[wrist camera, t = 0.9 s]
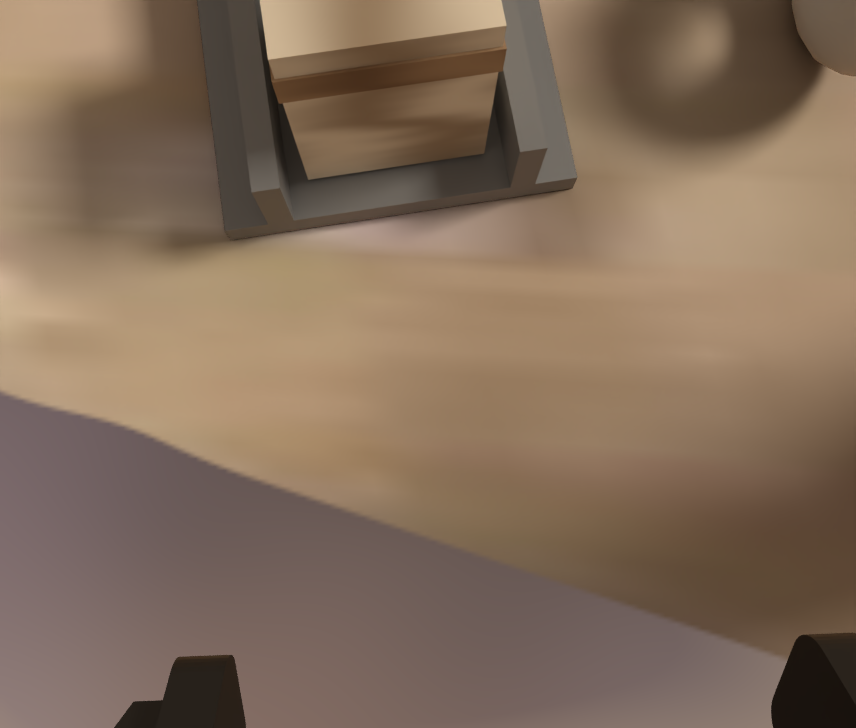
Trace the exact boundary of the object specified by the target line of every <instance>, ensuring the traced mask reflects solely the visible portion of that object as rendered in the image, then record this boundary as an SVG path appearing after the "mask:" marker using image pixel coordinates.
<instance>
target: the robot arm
mask: <svg viewBox="0 0 856 728" xmlns="http://www.w3.org/2000/svg"><path fill="white" fill-rule="evenodd" d="M771 714H772V724H773V728H856V633H836V634H811V635H801V636H799V637H798V638H797V639H796V641H795V643H794V646H793V648H792V651H791V653H790V656H789V658H788V661H787V663H786V666H785V669H784V671H783V674H782V676H781V679H780V682H779V684H778V686H777V689H776V692H775V694H774V697H773V700H772V706H771ZM114 728H246V724H245V717H244V710H243V705H242V699H241V693H240V687H239V682H238V676H237V670H236V664H235V660H234V657H233V656H232V655H217V656H216V655H215V656H190V657H178V658H177V659H176V660H175V662H174V664H173V666H172V669H171V673H170V676H169V680H168V683H167V687H166V691H165V694H164V698H163V700H161V701H137V702H133V703H132V705H131V706H130V707H129V709H128V710H127V711H126V713H125V714H124V715H123V717H122V718H121V719H120V721H119V722H118V723H117V725H116V726H115V727H114Z"/></svg>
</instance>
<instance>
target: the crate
mask: <svg viewBox="0 0 856 728" xmlns="http://www.w3.org/2000/svg"><path fill="white" fill-rule="evenodd" d="M260 5H261V12H262V20H263V27H264V34H265V41H266V49H267V56H268V61H269V67H270V74H271V81H272V85H273V88H274V91H275V94H276V97H277V100H278V102H279V104H282V103H283V106H284V109H285V112H286V115H287V118H288V121H289V124H290V127H291V130H292V133H293V136H294V139H295V142H296V145H297V148H298V151H299V154H300V157H301V160H302V162H303V165H304V168H305V171H306V174H307V177H308V180H311V179H317V178H324V177H331V176H337V175H344V174H351V173H357V172H364V171H371V170H377V169H384V168H391V167H397V166H404V165H411V164H418V163H424V162H431V161H438V160H444V159H451V158H458V157H464V156H471V155H478V154H484V151H485V146H486V140H487V134H488V129H489V123H490V117H491V112H492V106H493V100H494V95H495V89H496V83H497V78H498V72H502V71H503V67H504V61H505V56H506V51H507V47H506V43H505V32H506V26H507V25H506V20H505V15H504V11H503V6H502V1H501V0H260Z"/></svg>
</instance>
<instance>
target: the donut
mask: <svg viewBox="0 0 856 728" xmlns="http://www.w3.org/2000/svg"><path fill="white" fill-rule="evenodd" d="M792 10H793V14H794V19H795V23H796V27H797V32H798V34H799V36H800V37H801V39H802V41H803V42H804V44H805V45H806V47H807V49H808V50H809V52H810V53H811V55H812V57H813V58H814V59H815V60H816V61H818V62H819V63H821V64H822V65H824V66H826V67H828V68H830V69H832V70H834V71H836V72H838V73H840V74H843V75H849V76H856V0H792Z"/></svg>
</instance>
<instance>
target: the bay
mask: <svg viewBox="0 0 856 728" xmlns="http://www.w3.org/2000/svg"><path fill="white" fill-rule="evenodd" d="M501 1H502V6H503V11H504V15H505V20H506V25H507V26H506V32H505V43H506V47H507V51H506V56H505V61H504V67H503V71H502V72H498V78H497V83H496V89H495V95H494V100H493V106H492V112H491V117H490V123H489V129H488V134H487V140H486V146H485V151H484V154H478V155H471V156H464V157H458V158H451V159H444V160H438V161H431V162H424V163H418V164H411V165H404V166H397V167H391V168H384V169H377V170H371V171H364V172H357V173H351V174H344V175H337V176H331V177H324V178H317V179H311V180H308V177H307V174H306V171H305V168H304V165H303V162H302V160H301V157H300V154H299V151H298V148H297V145H296V142H295V139H294V136H293V133H292V130H291V127H290V124H289V121H288V118H287V115H286V112H285V109H284V106H283V103H282V104H279V102H278V100H277V97H276V94H275V91H274V88H273V85H272V81H271V74H270V67H269V61H268V56H267V49H266V41H265V34H264V27H263V20H262V12H261V5H260V0H197V5H198V13H199V21H200V29H201V38H202V46H203V54H204V63H205V71H206V79H207V88H208V96H209V104H210V113H211V121H212V129H213V138H214V146H215V154H216V162H217V171H218V179H219V187H220V196H221V204H222V212H223V221H224V229H225V232H226V234H227V235H228V236H229V238H230V239H231V240H235V239H242V238H249V237H255V236H262V235H268V234H275V233H281V232H288V231H295V230H301V229H308V228H314V227H321V226H327V225H334V224H341V223H347V222H354V221H360V220H367V219H373V218H380V217H387V216H393V215H400V214H406V213H413V212H419V211H426V210H432V209H439V208H446V207H452V206H459V205H465V204H472V203H478V202H485V201H492V200H498V199H505V198H511V197H518V196H524V195H531V194H538V193H544V192H551V191H557V190H564V189H570V188H573V186H574V184H575V182H576V179H577V174H576V169H575V165H574V160H573V155H572V151H571V146H570V142H569V137H568V132H567V128H566V123H565V119H564V114H563V110H562V105H561V100H560V96H559V91H558V87H557V82H556V77H555V73H554V68H553V64H552V59H551V55H550V50H549V45H548V41H547V36H546V32H545V27H544V22H543V18H542V13H541V9H540V4H539V0H501Z"/></svg>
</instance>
